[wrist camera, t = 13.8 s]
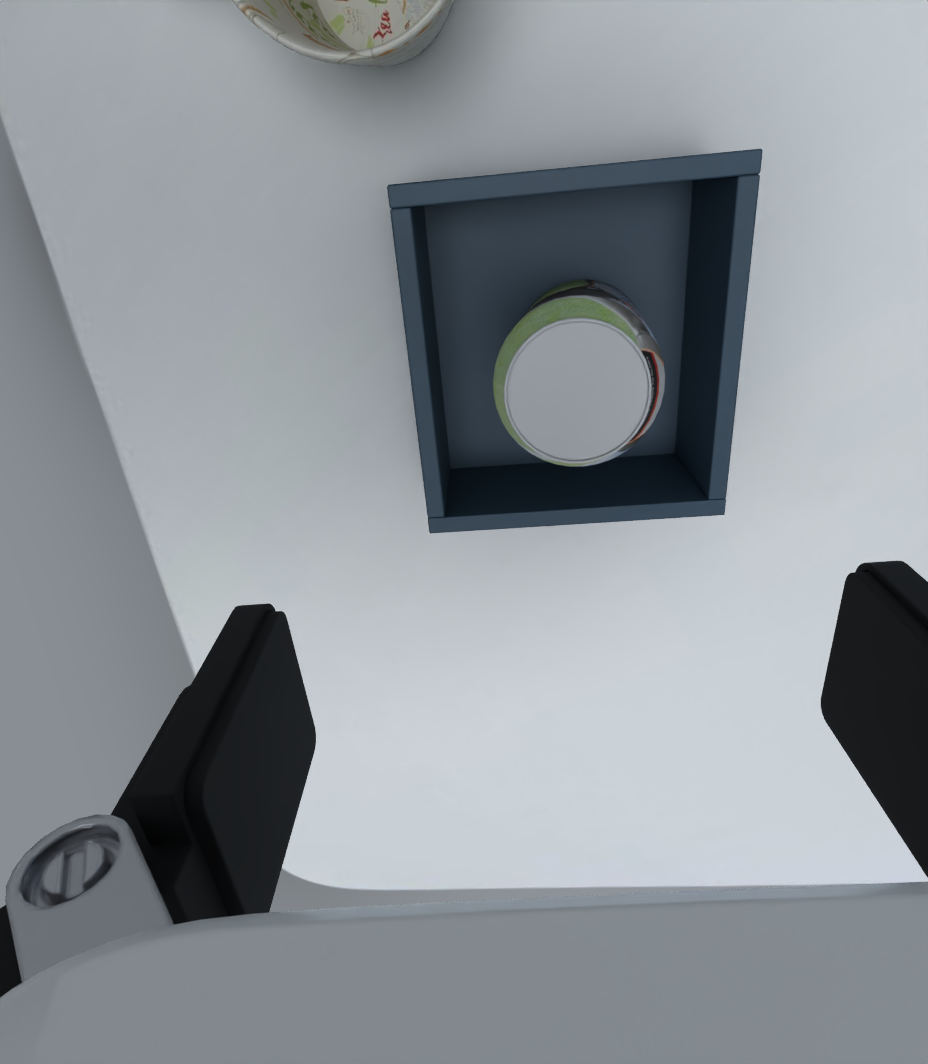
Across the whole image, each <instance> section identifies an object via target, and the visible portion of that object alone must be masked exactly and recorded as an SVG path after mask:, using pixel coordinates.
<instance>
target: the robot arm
mask: <svg viewBox="0 0 928 1064" xmlns="http://www.w3.org/2000/svg"><path fill="white" fill-rule="evenodd" d="M821 709H822V713H823V716H824V719H825V721H826V723H827V724H828V726H829V727H830V729H831V730H832V732H833V733H834V735H835V736H836V738H837V739H838V741H839V743H840V744H841V746H842V747H843V749H844V750H845V752H846V753H847V755H848V756H849V758H850V759H851V761H852V762H853V764H854V766H855V767H856V769H857V770H858V772H859V773H860V775H861V776H862V778H863V779H864V781H865V782H866V784H867V785H868V787H869V788H870V790H871V792H872V793H873V795H874V796H875V798H876V799H877V801H878V802H879V804H880V805H881V807H882V808H883V810H884V811H885V813H886V814H887V816H888V818H889V819H890V821H891V822H892V824H893V825H894V827H895V828H896V830H897V831H898V833H899V834H900V836H901V837H902V839H903V840H904V842H905V844H906V845H907V847H908V848H909V850H910V851H911V853H912V854H913V856H914V857H915V859H916V860H917V862H918V863H919V865H920V866H921V868H922V870H923V871H924V873H925V874H926V876H927V877H928V582H927V581H926V580H925V579H924V578H922V577H921V576H920V575H919V574H918V573H917V572H916V571H914V570H913V569H912V568H911V567H910V566H909V565H908V564H906V563H904V562H903V561H887V562H872V563H863V564H861V565H859V567H858V568H857V570H856V572H855V573H850V574H849V575H848V576H847V578H846V581H845V585H844V590H843V595H842V599H841V604H840V609H839V614H838V619H837V624H836V628H835V633H834V638H833V643H832V648H831V653H830V657H829V662H828V667H827V672H826V677H825V682H824V686H823V691H822V696H821ZM315 744H316V732H315V726H314V722H313V718H312V715H311V711H310V707H309V703H308V699H307V695H306V691H305V687H304V684H303V680H302V676H301V672H300V668H299V664H298V660H297V656H296V653H295V649H294V645H293V641H292V637H291V633H290V629H289V625H288V621H287V618H286V615H285V614H284V612H282V611H278V612H276V611H275V609H274V607H273V606H272V605H271V604H257V605H242V606H237V607H235V609H234V610H233V611H232V613H231V615H230V617H229V618H228V620H227V622H226V624H225V625H224V627H223V629H222V631H221V633H220V634H219V636H218V638H217V640H216V641H215V643H214V645H213V647H212V649H211V650H210V652H209V654H208V656H207V657H206V659H205V661H204V663H203V664H202V666H201V668H200V670H199V672H198V673H197V675H196V677H195V679H194V681H193V682H192V684H191V685H190V686H188V687H186V688H185V689H184V690H183V691H182V693H181V694H180V695H179V697H178V699H177V700H176V702H175V704H174V706H173V707H172V709H171V711H170V713H169V715H168V716H167V718H166V720H165V721H164V723H163V725H162V726H161V729H160V730H159V732H158V733H157V735H156V737H155V739H154V740H153V742H152V744H151V746H150V748H149V749H148V751H147V753H146V754H145V756H144V758H143V760H142V761H141V763H140V765H139V767H138V768H137V770H136V772H135V774H134V775H133V777H132V779H131V780H130V782H129V784H128V786H127V787H126V789H125V791H124V793H123V794H122V796H121V798H120V799H119V801H118V803H117V805H116V806H115V808H114V810H113V812H112V814H111V815H93V816H88V817H84V818H80V819H77V820H74V821H72V822H70V823H68V824H65V825H63V826H61V827H59V828H57V829H56V830H54V831H53V832H51V833H50V834H48V835H47V836H45V837H43V838H42V839H41V840H40V841H38V842H37V843H36V844H35V845H34V846H33V847H32V848H31V849H30V850H29V851H28V852H26V854H25V855H24V856H23V857H22V859H21V860H20V861H19V863H18V864H17V865H16V867H15V868H14V869H13V871H12V874H11V876H10V878H9V881H8V883H7V885H6V905H5V906H4V907H2V908H0V1064H928V882H909V883H883V884H856V885H830V886H803V887H777V888H750V889H727V890H703V891H680V892H656V893H635V894H610V895H589V896H565V897H543V898H522V899H502V900H483V901H482V900H481V901H463V902H462V901H461V902H443V903H442V902H441V903H420V904H399V905H380V906H361V907H345V908H330V909H315V910H300V911H286V912H270V913H269V911H270V907H271V903H272V900H273V896H274V893H275V889H276V886H277V882H278V878H279V875H280V871H281V868H282V864H283V861H284V857H285V854H286V850H287V847H288V843H289V840H290V836H291V832H292V829H293V825H294V822H295V818H296V815H297V811H298V808H299V804H300V800H301V797H302V793H303V790H304V786H305V783H306V779H307V776H308V772H309V768H310V765H311V761H312V758H313V754H314V750H315Z"/></svg>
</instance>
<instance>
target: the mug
mask: <svg viewBox="0 0 928 1064" xmlns="http://www.w3.org/2000/svg"><path fill="white" fill-rule="evenodd" d="M233 2H234V3H235V4H236V5H237V7H238V8H239V9H240V10H241V11H242V12H243V13H244V14H245V15H246V16H247V18H248V19H250V20H251V21H252V22H253V23H254V24H255V25H256V26H257V27H258V28H259V29H261V30H262V31H263V32H265V33H266V34H267V35H269V36H270V37H271V38H272V39H274V40H276V41H277V42H279V43H280V44H282V45H284V46H285V47H287V48H289V49H291V50H293V51H295V52H297V53H299V54H302V55H305V56H308V57H310V58H313V59H317V60H321V61H324V62H330V63H337V64H352V65H369V66H391V65H397V64H400V63H403V62H406V61H408V60H410V59H412V58H414V57H416V56H417V55H418V54H420V53H421V52H423V51H424V50H425V49H426V48H427V47H428V46H429V45H430V44H431V43H432V41H433V40H434V39H435V38H436V36H437V35H438V33H439V32H440V30H441V28H442V26H443V25H444V23H445V20H446V18H447V16H448V13H449V11H450V8H451V6H452V3H453V0H233Z"/></svg>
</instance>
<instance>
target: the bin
mask: <svg viewBox="0 0 928 1064" xmlns="http://www.w3.org/2000/svg"><path fill="white" fill-rule="evenodd" d="M761 160H762V149H754V150H743V151H733V152H723V153H712V154H702V155H692V156H681V157H671V158H661V159H650V160H640V161H630V162H619V163H609V164H599V165H588V166H578V167H568V168H557V169H547V170H537V171H526V172H516V173H506V174H496V175H485V176H475V177H465V178H454V179H444V180H434V181H423V182H413V183H403V184H392V185H388V187H387V189H388V197H389V205H390V208H391V211H390V213H391V221H392V229H393V237H394V246H395V254H396V262H397V270H398V278H399V286H400V294H401V303H402V311H403V319H404V327H405V335H406V343H407V351H408V360H409V368H410V376H411V384H412V392H413V400H414V409H415V417H416V425H417V433H418V441H419V449H420V457H421V466H422V474H423V482H424V490H425V498H426V506H427V514H428V524H429V532H430V533H443V532H458V531H474V530H490V529H506V528H522V527H538V526H554V525H569V524H585V523H601V522H617V521H633V520H649V519H664V518H680V517H696V516H712V515H724V513H725V503H726V499H725V498H726V491H727V482H728V472H729V463H730V453H731V444H732V434H733V425H734V415H735V406H736V396H737V387H738V377H739V368H740V358H741V349H742V340H743V330H744V321H745V311H746V302H747V292H748V283H749V273H750V264H751V254H752V245H753V235H754V226H755V216H756V207H757V197H758V188H759V178H760V176H759V175H758V174H759V173H760V169H761ZM585 279H588V280H596V281H600V282H604V283H607V284H610V285H611V286H613V287H615V288H617V289H618V290H620V291H621V292H622V293H624V294H625V295H626V296H627V297H628V298H629V299H630V300H631V301H632V303H633V304H634V305H635V306H636V308H637V310H638V311H639V313H640V314H641V316H642V318H643V319H644V321H645V322H646V324H647V326H648V327H649V329H650V330H651V332H652V334H653V336H654V338H655V340H656V341H657V343H658V345H659V348H660V351H661V354H662V358H663V362H664V370H665V387H664V394H663V398H662V402H661V406H660V408H659V411H658V413H657V415H656V418H655V420H654V421H653V423H652V424H651V426H650V427H649V429H648V430H647V432H646V433H645V434H644V435H643V436H642V437H641V439H640V440H639V441H638V442H637V443H636V444H635V445H633V446H632V447H631V448H629V449H628V450H627V451H625V452H624V453H622V454H620V455H618V456H617V457H615V458H613V459H611V460H608V461H605V462H602V463H599V464H595V465H589V466H563V465H557V464H553V463H550V462H547V461H545V460H542V459H540V458H538V457H536V456H534V455H533V454H531V453H529V452H528V451H527V450H525V449H524V448H523V447H522V446H520V445H519V444H518V443H517V442H516V441H515V439H514V438H513V437H512V436H511V435H510V434H509V432H508V431H507V429H506V427H505V426H504V424H503V423H502V420H501V418H500V416H499V413H498V411H497V408H496V403H495V398H494V390H493V377H494V370H495V364H496V361H497V358H498V354H499V351H500V349H501V347H502V345H503V343H504V341H505V339H506V338H507V336H508V335H509V334H510V332H511V331H512V330H513V328H514V327H515V326H516V324H517V323H518V322H519V321H520V320H521V318H522V317H523V316H524V315H525V314H526V312H527V311H528V310H529V309H530V308H531V306H532V305H533V304H534V303H535V302H536V301H537V300H538V299H539V298H540V297H541V296H542V295H543V294H544V293H546V292H547V291H549V290H550V289H552V288H553V287H556V286H558V285H560V284H562V283H565V282H569V281H573V280H585Z"/></svg>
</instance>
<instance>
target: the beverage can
mask: <svg viewBox="0 0 928 1064" xmlns="http://www.w3.org/2000/svg"><path fill="white" fill-rule="evenodd" d="M664 387H665V370H664V362H663V358H662V354H661V351H660V348H659V345H658V343H657V341H656V340H655V338H654V336H653V334H652V332H651V330H650V329H649V327H648V326H647V324H646V322H645V321H644V319H643V318H642V316H641V314H640V313H639V311H638V310H637V308H636V306H635V305H634V304H633V303H632V301H631V300H630V299H629V298H628V297H627V296H626V295H625V294H624V293H622V292H621V291H620V290H618V289H617V288H615V287H613V286H611V285H610V284H607V283H604V282H600V281H596V280H588V279H585V280H573V281H569V282H565V283H562V284H560V285H558V286H556V287H553V288H552V289H550V290H549V291H547V292H546V293H544V294H543V295H542V296H541V297H540V298H539V299H538V300H537V301H536V302H535V303H534V304H533V305H532V306H531V308H530V309H529V310H528V311H527V312H526V314H525V315H524V316H523V317H522V318H521V320H520V321H519V322H518V323H517V324H516V326H515V327H514V328H513V330H512V331H511V332H510V334H509V335H508V336H507V338H506V339H505V341H504V343H503V345H502V347H501V349H500V351H499V354H498V358H497V361H496V364H495V370H494V377H493V390H494V398H495V403H496V408H497V411H498V413H499V416H500V418H501V420H502V423H503V424H504V426H505V427H506V429H507V431H508V432H509V434H510V435H511V436H512V437H513V438H514V439H515V441H516V442H517V443H518V444H519V445H520V446H522V447H523V448H524V449H525V450H527V451H528V452H529V453H531V454H533V455H534V456H536V457H538V458H540V459H542V460H545V461H547V462H550V463H553V464H557V465H563V466H589V465H595V464H599V463H602V462H605V461H608V460H611V459H613V458H615V457H617V456H618V455H620V454H622V453H624V452H625V451H627V450H628V449H629V448H631V447H632V446H633V445H635V444H636V443H637V442H638V441H639V440H640V439H641V437H642V436H643V435H644V434H645V433H646V432H647V430H648V429H649V427H650V426H651V424H652V423H653V421H654V420H655V418H656V415H657V413H658V411H659V408H660V406H661V402H662V398H663V394H664Z"/></svg>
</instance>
